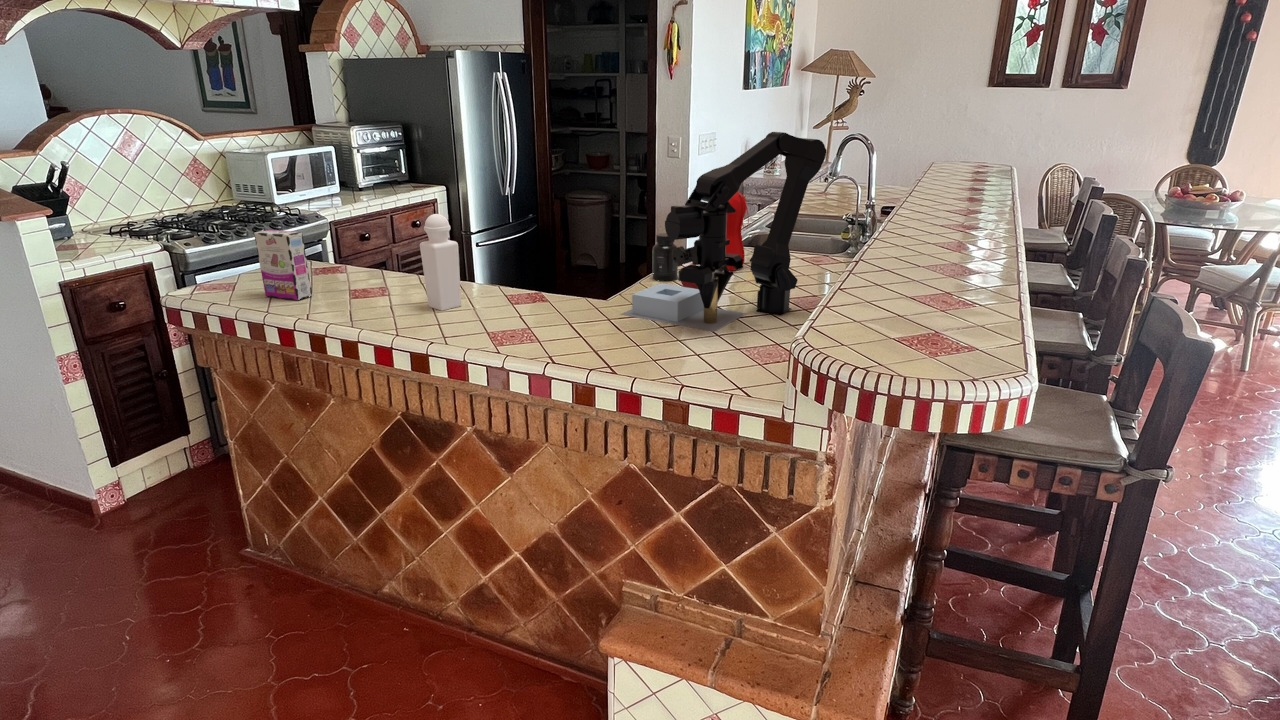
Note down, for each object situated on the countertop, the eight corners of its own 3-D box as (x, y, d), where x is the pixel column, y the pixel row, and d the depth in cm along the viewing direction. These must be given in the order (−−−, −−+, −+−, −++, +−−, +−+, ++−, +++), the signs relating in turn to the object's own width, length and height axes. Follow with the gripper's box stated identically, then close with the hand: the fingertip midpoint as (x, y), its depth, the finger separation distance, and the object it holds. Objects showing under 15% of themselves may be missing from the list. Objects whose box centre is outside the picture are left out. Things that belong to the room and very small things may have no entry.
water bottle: (739, 273, 207) (742, 182, 198) (704, 269, 213) (706, 179, 204) (753, 267, 214) (757, 178, 206) (719, 262, 220) (722, 176, 211)
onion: (695, 297, 184) (696, 266, 181) (676, 294, 187) (676, 263, 184) (708, 292, 188) (708, 261, 185) (689, 289, 191) (689, 258, 188)
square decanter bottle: (464, 306, 178) (456, 213, 170) (440, 312, 173) (431, 217, 166) (449, 301, 182) (440, 210, 174) (425, 306, 177) (415, 214, 170)
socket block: (703, 308, 173) (704, 290, 171) (677, 321, 163) (677, 302, 162) (660, 301, 179) (660, 283, 177) (632, 313, 170) (632, 294, 168)
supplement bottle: (647, 279, 201) (647, 235, 197) (661, 274, 207) (661, 231, 203) (668, 282, 198) (669, 238, 194) (682, 277, 203) (682, 234, 199)
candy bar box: (313, 296, 187) (303, 231, 181) (298, 301, 182) (287, 235, 177) (280, 292, 191) (269, 228, 185) (264, 297, 186) (252, 231, 181)
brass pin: (719, 321, 164) (720, 276, 160) (712, 324, 161) (714, 279, 158) (707, 318, 165) (708, 275, 162) (700, 322, 163) (702, 277, 159)
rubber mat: (746, 315, 169) (746, 313, 169) (713, 334, 157) (713, 331, 156) (657, 300, 182) (657, 298, 181) (620, 316, 169) (620, 314, 169)
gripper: (700, 225, 168) (699, 291, 174) (656, 238, 154) (656, 310, 159) (745, 229, 162) (742, 298, 168) (704, 244, 148) (702, 319, 153)
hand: (710, 306), depth 162 cm, fingers closed on brass pin, 3 cm apart
